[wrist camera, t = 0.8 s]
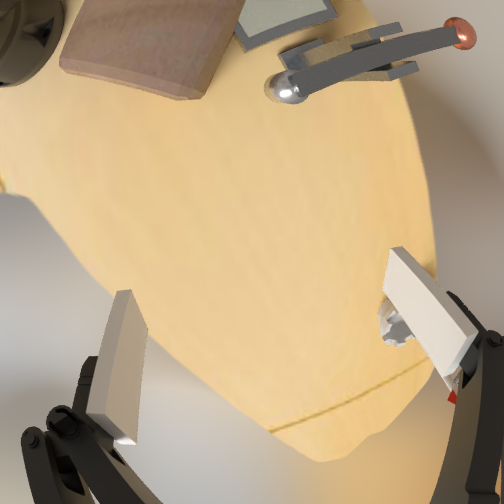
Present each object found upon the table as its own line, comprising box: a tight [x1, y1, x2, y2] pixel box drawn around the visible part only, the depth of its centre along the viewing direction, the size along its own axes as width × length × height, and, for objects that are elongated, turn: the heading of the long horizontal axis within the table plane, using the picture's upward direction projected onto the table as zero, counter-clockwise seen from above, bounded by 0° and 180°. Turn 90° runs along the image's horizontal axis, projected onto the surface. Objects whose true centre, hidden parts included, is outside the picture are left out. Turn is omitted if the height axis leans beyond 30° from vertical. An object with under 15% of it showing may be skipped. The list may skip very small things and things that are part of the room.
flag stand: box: [377, 298, 458, 404], centre depth 43 cm, size 13×13×30 cm
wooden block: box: [59, 0, 246, 100], centre depth 20 cm, size 10×10×20 cm
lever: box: [264, 17, 477, 104], centre depth 16 cm, size 3×20×6 cm, turn 118°
